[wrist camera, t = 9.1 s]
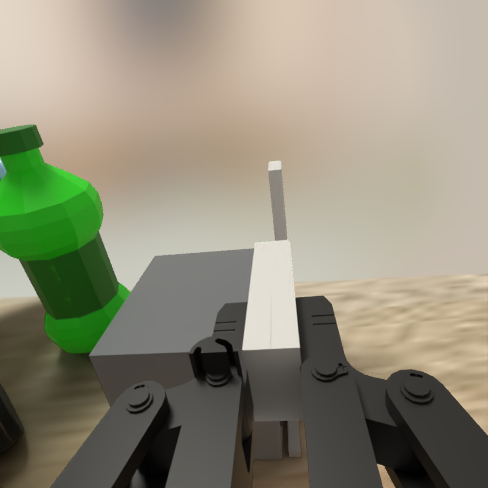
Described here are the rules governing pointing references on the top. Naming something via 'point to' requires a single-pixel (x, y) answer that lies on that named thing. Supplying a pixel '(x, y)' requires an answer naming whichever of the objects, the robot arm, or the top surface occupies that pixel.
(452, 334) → the top surface
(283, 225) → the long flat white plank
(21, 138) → the plastic bottle
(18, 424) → the camera
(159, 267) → the housing
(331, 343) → the robot arm
